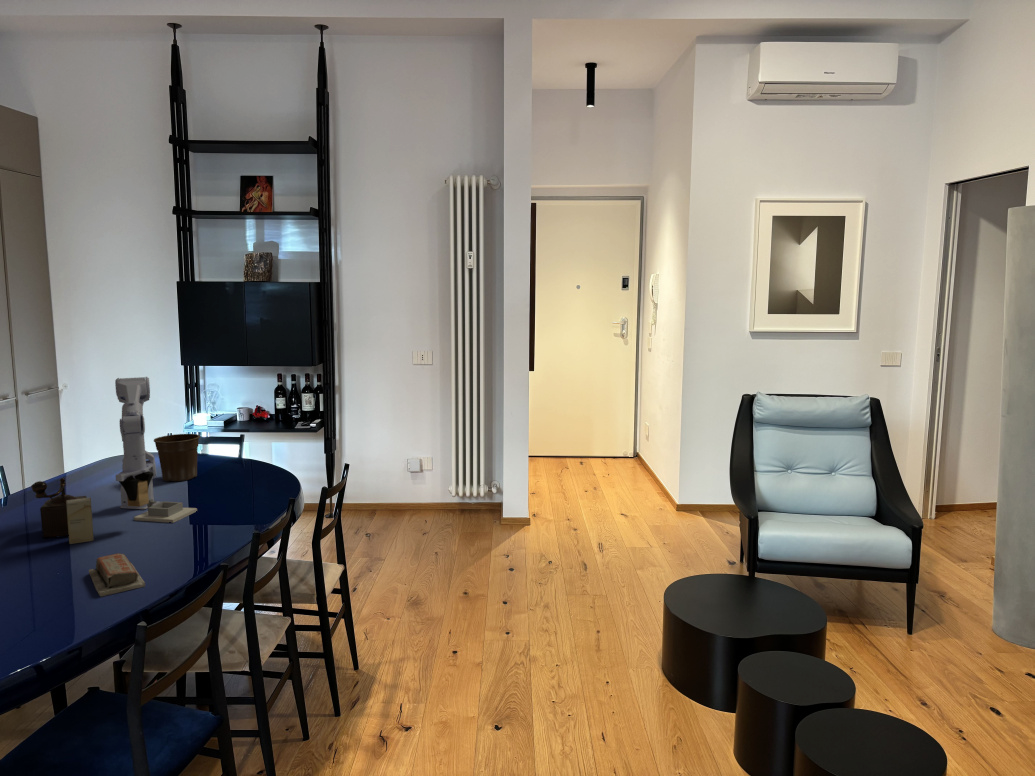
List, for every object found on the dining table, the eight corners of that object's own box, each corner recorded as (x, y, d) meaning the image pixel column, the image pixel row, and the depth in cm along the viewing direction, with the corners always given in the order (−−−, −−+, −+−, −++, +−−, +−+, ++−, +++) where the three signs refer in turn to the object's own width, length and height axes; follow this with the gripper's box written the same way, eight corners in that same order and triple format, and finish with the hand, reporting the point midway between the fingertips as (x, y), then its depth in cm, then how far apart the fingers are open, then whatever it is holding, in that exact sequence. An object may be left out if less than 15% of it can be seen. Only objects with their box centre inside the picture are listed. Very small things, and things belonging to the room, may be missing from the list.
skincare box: (69, 544, 204) (65, 503, 202) (69, 540, 208) (65, 500, 206) (94, 540, 207) (91, 500, 205) (94, 536, 211) (90, 496, 209)
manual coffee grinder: (48, 528, 218) (43, 471, 216) (89, 524, 222) (84, 468, 220) (34, 544, 204) (28, 484, 201) (78, 540, 208) (73, 480, 205)
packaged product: (86, 557, 182) (130, 548, 188) (88, 575, 183) (131, 566, 189) (98, 579, 168) (144, 569, 174) (99, 599, 169) (146, 588, 175)
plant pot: (149, 478, 276) (146, 437, 274) (191, 470, 288) (188, 431, 286) (167, 486, 265) (164, 443, 263) (209, 477, 277) (207, 437, 275)
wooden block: (128, 505, 216) (126, 483, 215) (137, 502, 220) (135, 480, 219) (139, 506, 215) (138, 484, 214) (148, 502, 219) (147, 480, 218)
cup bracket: (133, 520, 225) (132, 505, 225) (159, 508, 237) (158, 494, 236) (173, 522, 223) (172, 507, 222) (197, 511, 235) (196, 496, 234)
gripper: (129, 460, 207) (132, 505, 209) (162, 450, 222) (165, 492, 223) (108, 460, 209) (111, 504, 211) (142, 449, 223) (145, 491, 225)
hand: (138, 498), depth 217 cm, fingers closed on wooden block, 4 cm apart
